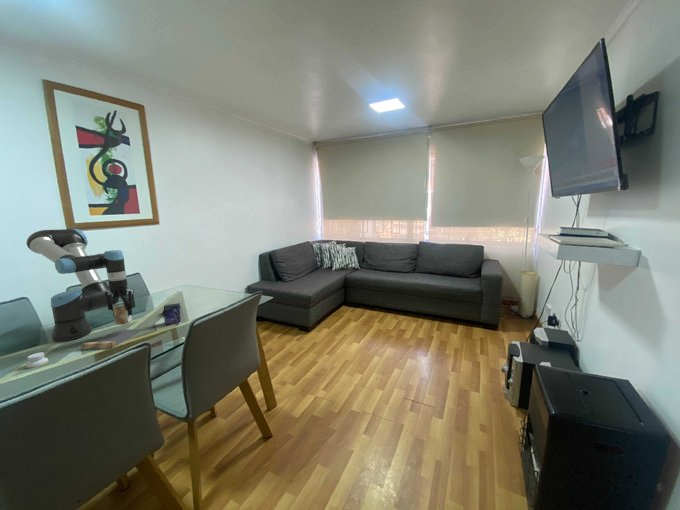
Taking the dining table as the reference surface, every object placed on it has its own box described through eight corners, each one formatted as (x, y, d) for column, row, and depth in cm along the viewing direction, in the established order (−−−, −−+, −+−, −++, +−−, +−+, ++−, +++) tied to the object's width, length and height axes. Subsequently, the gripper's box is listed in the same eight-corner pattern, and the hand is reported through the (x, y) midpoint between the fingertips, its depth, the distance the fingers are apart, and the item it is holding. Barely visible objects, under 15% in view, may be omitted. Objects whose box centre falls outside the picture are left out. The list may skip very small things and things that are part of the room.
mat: (87, 346, 130) (87, 345, 130) (116, 330, 148) (115, 330, 148) (117, 344, 131) (117, 344, 131) (142, 329, 149) (142, 328, 148)
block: (115, 324, 142) (112, 304, 140) (122, 321, 147) (119, 302, 145) (125, 324, 142) (122, 304, 140) (132, 320, 147) (129, 301, 145)
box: (165, 325, 154) (162, 307, 152) (165, 322, 159) (163, 304, 157) (181, 322, 158) (179, 305, 156) (181, 319, 162) (179, 302, 161)
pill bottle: (53, 374, 120) (49, 349, 119) (47, 381, 115) (43, 356, 113) (33, 378, 117) (28, 353, 115) (25, 386, 111) (20, 360, 110)
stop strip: (82, 349, 127) (81, 344, 127) (85, 347, 129) (84, 342, 129) (112, 347, 128) (112, 342, 127) (115, 345, 130) (115, 340, 129)
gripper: (93, 281, 137) (100, 325, 140) (130, 280, 138) (136, 323, 141) (105, 278, 144) (112, 319, 147) (140, 277, 145) (145, 318, 148)
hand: (123, 321), depth 144 cm, fingers closed on block, 5 cm apart
